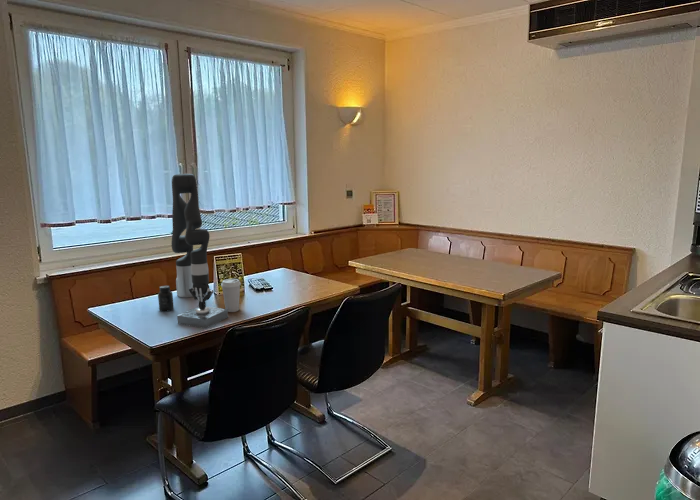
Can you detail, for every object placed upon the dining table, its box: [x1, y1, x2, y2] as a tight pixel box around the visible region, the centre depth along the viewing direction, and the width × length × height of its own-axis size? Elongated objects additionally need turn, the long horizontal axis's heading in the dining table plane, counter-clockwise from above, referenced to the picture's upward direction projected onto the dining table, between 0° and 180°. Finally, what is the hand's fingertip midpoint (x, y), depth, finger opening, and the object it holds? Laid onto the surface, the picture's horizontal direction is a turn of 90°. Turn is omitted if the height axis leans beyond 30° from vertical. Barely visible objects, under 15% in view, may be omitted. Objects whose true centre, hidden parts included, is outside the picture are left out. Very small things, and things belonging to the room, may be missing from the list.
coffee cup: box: [220, 278, 242, 313], centre depth 244 cm, size 10×10×15 cm
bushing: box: [196, 306, 210, 314], centre depth 230 cm, size 6×6×5 cm
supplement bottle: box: [157, 285, 175, 313], centre depth 246 cm, size 7×7×12 cm
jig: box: [176, 305, 229, 329], centre depth 230 cm, size 16×16×4 cm
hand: (202, 308), depth 230 cm, fingers closed
